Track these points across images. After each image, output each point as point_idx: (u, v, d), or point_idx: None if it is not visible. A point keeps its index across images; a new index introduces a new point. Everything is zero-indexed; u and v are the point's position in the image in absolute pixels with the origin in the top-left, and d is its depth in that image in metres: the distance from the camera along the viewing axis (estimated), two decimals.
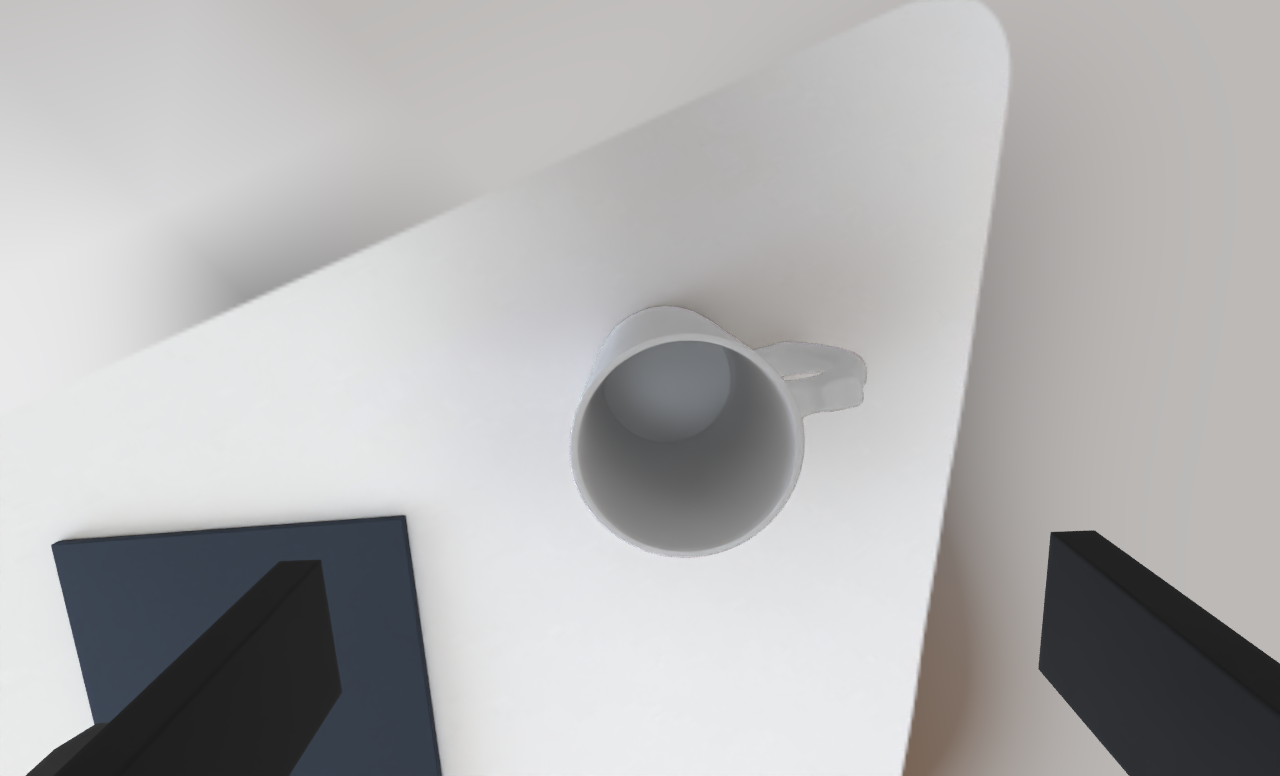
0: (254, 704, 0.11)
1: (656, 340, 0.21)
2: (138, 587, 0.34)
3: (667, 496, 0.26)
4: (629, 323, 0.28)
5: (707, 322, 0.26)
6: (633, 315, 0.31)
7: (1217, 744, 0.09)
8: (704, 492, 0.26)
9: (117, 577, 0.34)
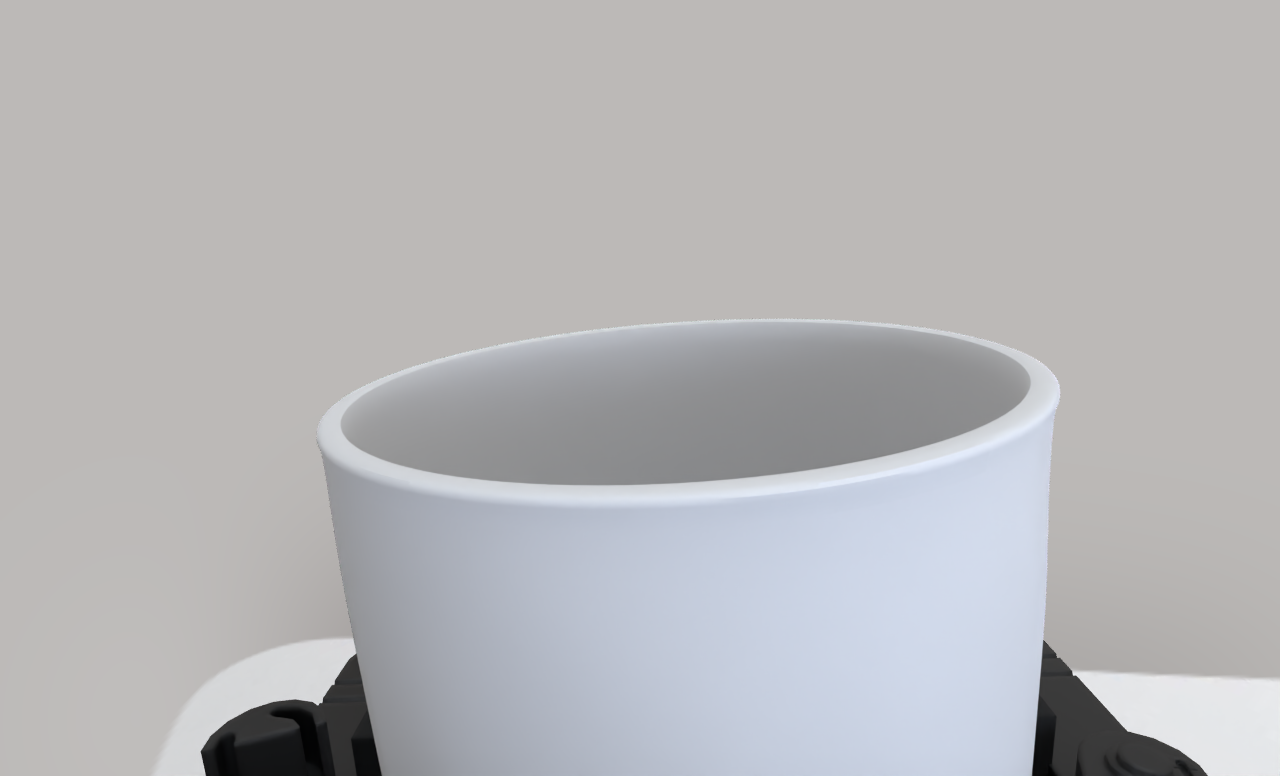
0: None
1: (332, 409, 0.07)
2: None
3: None
4: None
5: None
6: None
7: None
8: None
9: None
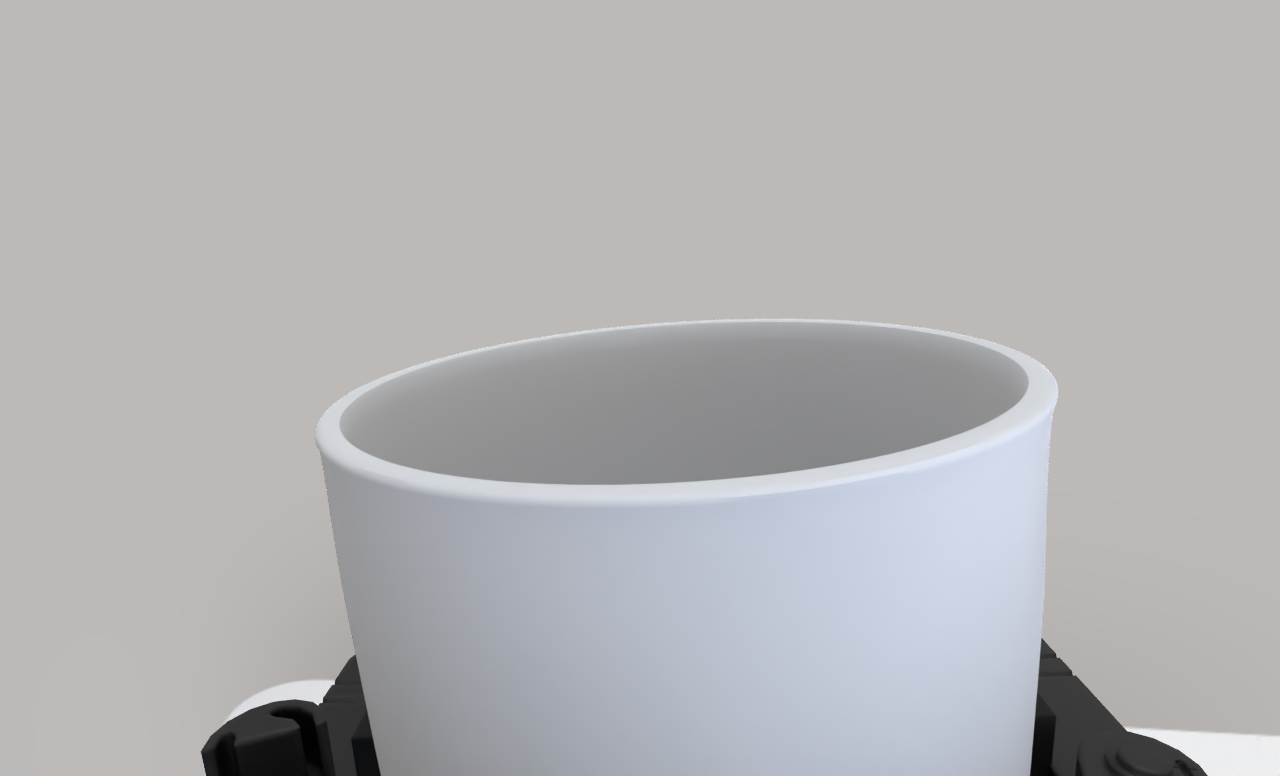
0: None
1: (330, 409, 0.07)
2: None
3: None
4: None
5: None
6: None
7: None
8: None
9: None
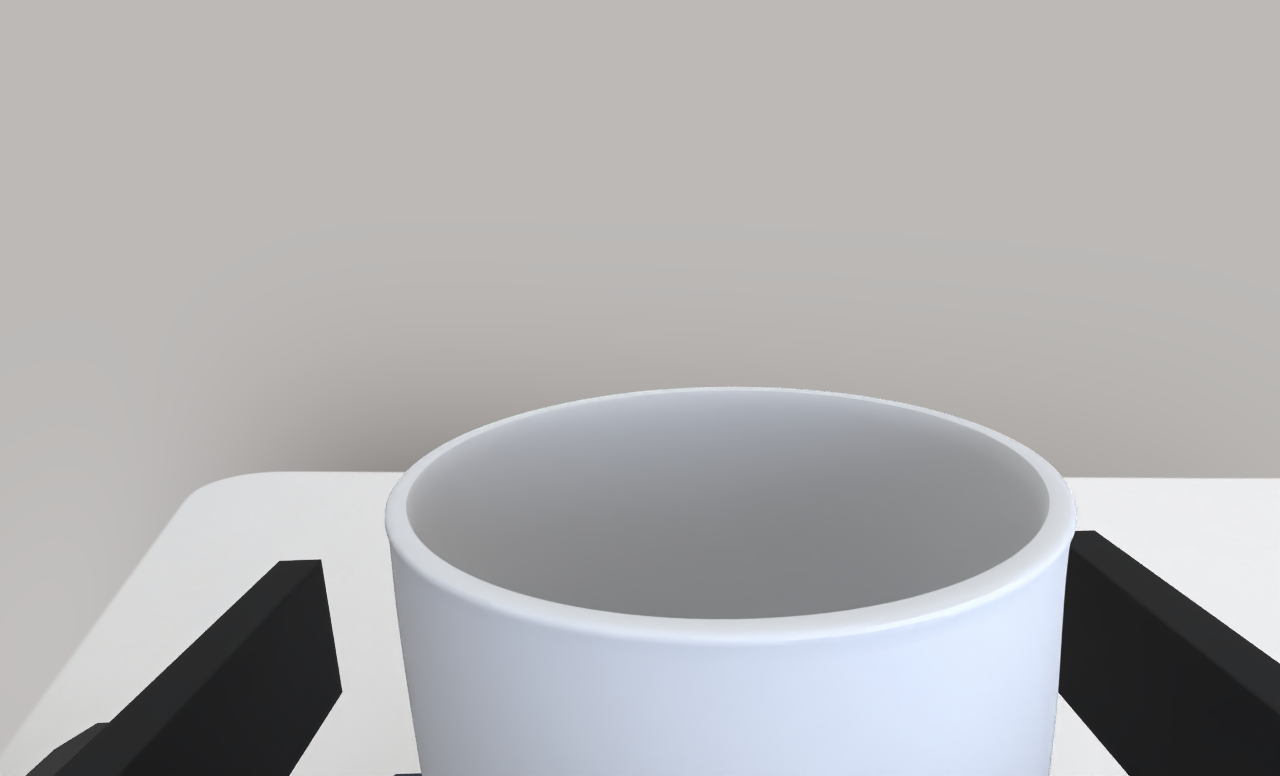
0: (254, 704, 0.11)
1: (394, 496, 0.07)
2: None
3: None
4: None
5: None
6: None
7: (1217, 745, 0.09)
8: None
9: None
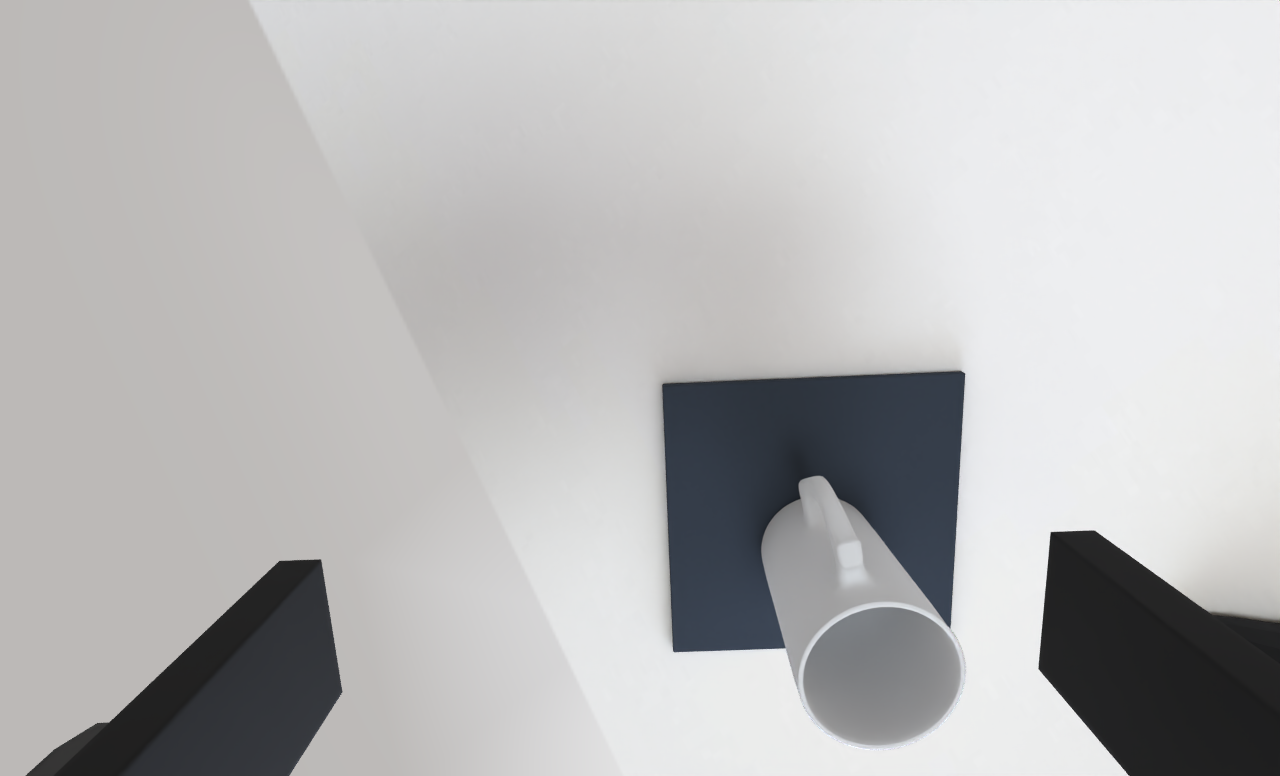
0: (254, 704, 0.11)
1: (801, 696, 0.30)
2: (712, 596, 0.42)
3: (917, 625, 0.34)
4: None
5: (783, 588, 0.34)
6: None
7: (1217, 744, 0.09)
8: None
9: (703, 610, 0.42)
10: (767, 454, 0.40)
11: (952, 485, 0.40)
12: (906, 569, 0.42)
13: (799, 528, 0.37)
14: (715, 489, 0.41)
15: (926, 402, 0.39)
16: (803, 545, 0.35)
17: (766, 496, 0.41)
